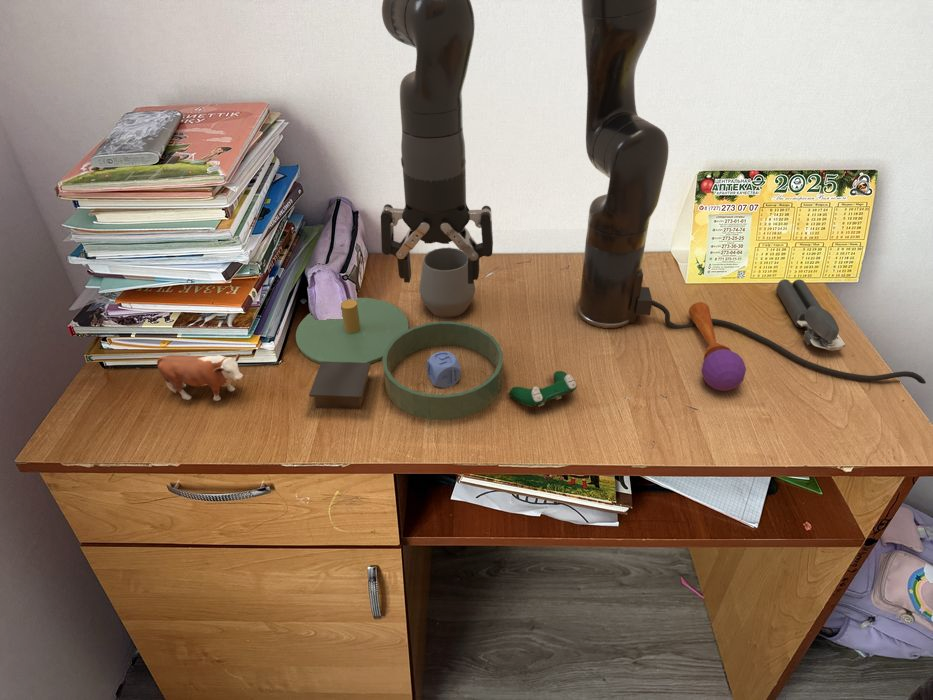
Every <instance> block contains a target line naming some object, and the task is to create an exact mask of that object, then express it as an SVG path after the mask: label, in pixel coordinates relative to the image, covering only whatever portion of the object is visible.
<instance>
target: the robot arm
mask: <svg viewBox="0 0 933 700" xmlns="http://www.w3.org/2000/svg"><path fill="white" fill-rule="evenodd" d="M580 2H581V13H582V22H583V33H584V50H585V67H586V81H587V82H586V83H587V85H586V87H587V91H586V92H587V94H586V118H585V119H586V120H585V121H586V122H585V149H586V153H587V154H586V155H587V157H588V160H589V161H590V163H591V165H592V166H593V167H594V169H596V170H597V171H599V172H600V173H602V174H603V175H604V176H606V177H607V178H609V181H608V187H607V193H605V194H602V195H599V196H597V197H595V198H594V199H593V200H592V201H591V203H590V205H589V209H588V217H587V226H586V236H585V244H584V255H583V265H582V272H581V273H582V274H581V283H580V291H579V299H578V304H577V305H578V306H577V313H578V315H579V317H580V318H581V319H582V320H583V322H586V323H587V324H589V325H592V326H594V327H597V328H602V329H603V328H605V329H616V328H621V327H624V326H626V325H628V324H635V323H636V320H637V316H650V315H651V312H652V307H653V308H654V307H655V308H657V309H659V310H660V311H662V313H663V314H664V323H665V325H666V326H667V327H669V328H670V329H673V330H681V329H682V330H683V329H689V328H696V327H697V326H696V325H695V323H694V322H693V321H692V322H691V323H686V324H677V323H674V322H672V321H671V314H670V311H669V310H668V307H666V306H665V305H663V304H662V303H660V302H658V301H655V300H653V297H652V293H651V290H650V287H649V286H643V280H644V272H643V268H642V267H643V259H644V255H645V254H644V253H645V247H646V242H647V236H648V230H649V225H650V220H651V217H652V215H653V214H654V212H655V210H656V209H657V206H658V204H659V200H660V196H661V192H662V187H663V184H664V179H665V174H666V171H667V166H668V161H669V151H670V150H669V140H668V137H667V135H666V133H665V132H664V131H663V130H662V129H661V128H660V127H658V126H657V125H655V124H654V123H651V122H650V121H649V120H646V119H644V118H643V117H641V116H639V114H638V112H637V106H636V87H635V83H636V82H635V79H636V69H637V67H638V66H637V65H638V63H639V60H640V58H641V56H642V53H643V51H644V49H645V47H646V45H647V42H648V40H649V37H650V35H651V33H652V30H653V28H654V24H655V21H656V20H655V19H656V16H657V8H658V7H657V5H658V0H581V1H580ZM381 17H382V22H383V25H384V27H385V29H386V31H387V32H388V34H389V35H390V36H391V37H392V38H393V39H395V40H396V41H398V42H400V43H402V44H404V45H407V46H409V47H412V48H414V49H415V50H416V60H415V69H414V70H413V71H411V72H409V73H407V74H406V75H405V76H404V77H402V79H401V82H400V84H399V85H400V86H399V107H400V120H401V145H400V149H401V150H400V151H401V158H400V162H401V167H402V176H403V178H402V179H403V192H404V205H405V206H404V208H397V207H396V208H395V207H393V205H391V204H390V203H389V204H384V206H383V208H382V211H381V213H380V239H381V240H380V241H381V252H382V254H383V255H385V256H389V255H392V256H394V257H395V258H396V260H397V269H398V271H397V272H398V277H399V278H400V279H403V283H411V279H412V265H411V250H413V249H414V248H415V247H416V245H417V244H418V243H419V242H420V241H422V242H424V244H435V243H437V244H442V245H449V244H450V243H451V242H452V243H453V244H454V245H455V246H456V247H457V249H459V250H462V251H463V252H464V253H465V254H466V255H467V256H468V284H473V282H474V283H475V281H478V279H479V277H480V259H481V258H482V257H492V255H493V251H494V248H493V247H494V236H493V218H492V208H491V207H490V206H489V205H483V206H482V208H481V209H470V208H469V207H468V204H467V180H466V179H467V178H466V176H467V175H466V174H467V173H466V167H467V166H466V164H467V163H466V162H467V160H466V141H465V135H464V127H463V123H464V122H463V121H464V119H463V117H464V116H463V115H464V114H463V87H464V84H465V80H466V76H467V72H468V67H469V62H470V57H471V53H472V49H473V45H474V39H475V28H476V25H475V24H476V22H475V13H474V9H473V5H472V1H471V0H382V5H381ZM399 220H402V221H403V222H404V223H405V225H406V226H407V227H408V228H409V229H408V231H407V232H406V234H405V235H404V236H403V238H402V239H401V241H400V242H398V241H395V236H394V235H395V234H394V233H395V232H394V227H396V226H397V225H398V223H399ZM470 221H472V222H474V225H475V227H476V228H478V229H481V242H479V243H478V242H477V241H476V240H475V239H474V238H473V237H472V235H471V233H470V232H469V230H468V229H467V228H466V227H467V225H468V224H469V222H470ZM711 320H712V325H720V326H723V327H727V328H730V329H733V330H736V331H739V332H740V333H743V334H745V335H747V336H749V337H750V338H753V339H754V340H757V341H759V342H761V343H764V344H766V345H767V346H769V347H771V348H773V349H774V350H776V351H778V352H779V353H781V354H782V355H784V356H786V357H787V358H789V359H791V360H793V361H794V362H797V363H798V364H801V365H802V366H805V367H807V368H809V369H813V370H815V371H817V372H822V373H825V374H827V375H831V376H835V377H839V378H845V379H849V380H850V379H851V380H856V381H865V382H876V381H885V380H890V379H897V378H912V379H914V380H916V381H917V382H918V383H920V384H925V385H926V383H927V381H926V380H925V379H924V378H923V376H922V375H920V374H918V373H916V372H913V371H908V370H906V371H905V370H903V371H895V372H890V373H884V374H877V375H876V374H875V375H867V374H866V375H865V374H858V373H851V372H845V371H841V370H837V369H832V368H829V367H825V366H823V365H821V364H820V365H819V364H817V363H814V362H811V361H808V360H807V359H804V358H802V357H800V356H798V355H796V354H794V353H793V352H791V351H789V350H787V349H786V348H784V347H782V346H781V345H779V344H778V343H776V342H774V341H772V340H770V339H768V338H767V337H764V336H762V335H760V334H758V333H757V332H755V331H752V330H750V329H748V328H746V327H743V326H742V325H739V324H737V323H734V322H730V321H727V320H723V319H718V318H711Z"/></svg>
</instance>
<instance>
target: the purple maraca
mask: <svg viewBox="0 0 933 700" xmlns="http://www.w3.org/2000/svg"><path fill="white" fill-rule="evenodd" d="M688 315H689V317H690V319H691V320H692V323H693V322H694V323H695V325H696V326H695V327H696V328H697V329H698V330H699V332H700V334H701V335H702V338H704V340H705V342H706V343H707V344H708V347H707V349H706V351H705V353H704V356H703V361H702V366H701V373H702V377H703V379H704V382H705V383H706V384H707V385H708V386H709V387H711V388H712V389H715V390H717V391H720V392H721V391H722V392H723V391H724V392H727V391H731V390H734V389H736V388H737V387H739V386H740V385H741V384H742V383H743V381H744V380H745V376H746V372H747V368H746V364H745V362H744V359H743V358H742V357H741V355H740V354H739V353H736V352H734V351H733V350H732V349H731V348H730V347H727V346H725V345H723V344H720V343H719V342H717V339H716V334H715V330H714V324H712V320H711V319H712V317H711V311H710V307H709V305H708V304H707V303H705V302H702V301H698V302H695V303H693V304H692V305H690V306H689V309H688Z"/></svg>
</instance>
